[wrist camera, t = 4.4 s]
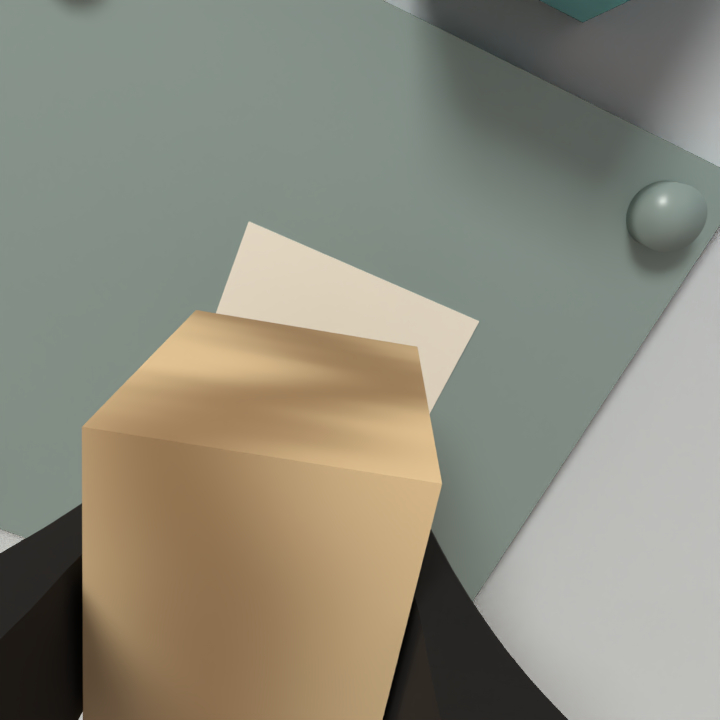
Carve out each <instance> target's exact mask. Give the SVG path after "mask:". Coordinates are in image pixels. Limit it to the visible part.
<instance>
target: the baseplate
mask: <svg viewBox="0 0 720 720" xmlns="http://www.w3.org/2000/svg"><path fill="white" fill-rule="evenodd" d="M719 226H720V167H718V166H716V165H714V164H712V163H710V162H708V161H706V160H704V159H702V158H700V157H698V156H696V155H694V154H692V153H690V152H688V151H686V150H684V149H682V148H680V147H678V146H676V145H674V144H672V143H670V142H668V141H666V140H664V139H662V138H660V137H658V136H656V135H654V134H652V133H649V132H647V131H645V130H643V129H641V128H639V127H637V126H635V125H633V124H631V123H629V122H627V121H625V120H623V119H621V118H619V117H617V116H615V115H613V114H611V113H609V112H607V111H605V110H603V109H601V108H599V107H597V106H595V105H593V104H591V103H589V102H587V101H585V100H583V99H581V98H579V97H577V96H575V95H573V94H571V93H569V92H567V91H565V90H563V89H561V88H559V87H557V86H555V85H553V84H551V83H549V82H547V81H545V80H543V79H541V78H539V77H537V76H534V75H532V74H530V73H528V72H526V71H524V70H522V69H520V68H518V67H516V66H514V65H512V64H510V63H508V62H506V61H504V60H502V59H500V58H498V57H496V56H494V55H492V54H490V53H488V52H486V51H484V50H482V49H480V48H478V47H476V46H474V45H472V44H470V43H468V42H466V41H464V40H462V39H460V38H458V37H456V36H454V35H452V34H450V33H448V32H446V31H444V30H442V29H440V28H438V27H436V26H434V25H432V24H430V23H428V22H426V21H424V20H422V19H420V18H417V17H415V16H413V15H411V14H409V13H407V12H405V11H403V10H401V9H399V8H397V7H395V6H393V5H391V4H389V3H387V2H385V1H383V0H0V529H2V530H5V531H8V532H10V533H13V534H16V535H19V536H22V537H25V538H27V537H29V536H31V535H32V534H34V533H36V532H38V531H39V530H41V529H43V528H44V527H46V526H48V525H49V524H51V523H52V522H54V521H55V520H57V519H58V518H60V517H61V516H63V515H65V514H66V513H68V512H69V511H71V510H72V509H74V508H75V507H77V506H78V505H80V504H81V503H82V426H83V425H84V424H85V423H86V422H87V421H88V420H89V419H90V418H91V417H92V416H93V415H94V414H95V413H96V412H97V411H98V410H99V409H100V408H101V407H102V406H103V405H104V404H105V403H106V402H107V401H108V400H109V399H110V398H111V396H112V395H113V394H114V393H115V392H116V391H117V390H118V389H119V388H120V387H121V386H122V385H123V384H124V383H125V382H126V381H127V380H128V379H129V378H130V377H131V376H132V375H133V374H134V373H135V372H136V371H137V370H138V369H139V368H140V367H141V366H142V365H143V364H144V363H145V362H146V361H147V360H148V359H149V358H150V357H151V356H152V354H153V353H154V352H155V351H156V350H157V349H158V348H159V347H160V346H161V345H162V344H163V343H164V342H165V341H166V340H167V339H168V338H169V337H170V336H171V335H172V334H173V333H174V332H175V331H176V330H177V329H178V328H179V327H180V326H181V325H182V324H183V323H184V322H185V321H186V320H187V319H188V318H189V317H190V316H191V315H192V314H193V313H194V311H195V310H199V311H205V312H211V313H217V314H223V315H229V316H235V317H241V318H247V319H253V320H259V321H265V322H271V323H277V324H284V325H290V326H296V327H302V328H308V329H314V330H320V331H326V332H332V333H338V334H344V335H350V336H356V337H362V338H368V339H374V340H380V341H386V342H392V343H398V344H404V345H410V346H416V347H418V353H419V358H420V364H421V369H422V375H423V380H424V386H425V391H426V397H427V403H428V408H429V414H430V419H431V425H432V430H433V436H434V441H435V447H436V452H437V458H438V464H439V469H440V475H441V480H442V486H441V490H440V494H439V498H438V502H437V506H436V510H435V514H434V518H433V522H432V526H431V529H432V531H433V533H434V535H435V537H436V539H437V541H438V543H439V545H440V547H441V549H442V551H443V553H444V554H445V556H446V558H447V560H448V562H449V563H450V565H451V567H452V569H453V570H454V572H455V574H456V576H457V577H458V579H459V581H460V582H461V584H462V586H463V587H464V589H465V590H466V592H467V594H468V595H469V597H470V599H471V600H472V601H473V600H474V598H475V597H476V595H477V594H478V592H479V591H480V589H481V588H482V586H483V585H484V583H485V582H486V580H487V579H488V577H489V576H490V574H491V572H492V571H493V569H494V568H495V566H496V565H497V563H498V562H499V560H500V559H501V557H502V556H503V554H504V553H505V551H506V550H507V548H508V547H509V545H510V544H511V542H512V541H513V539H514V537H515V536H516V534H517V533H518V531H519V530H520V528H521V527H522V525H523V524H524V522H525V521H526V519H527V518H528V516H529V515H530V513H531V512H532V510H533V509H534V507H535V506H536V504H537V502H538V501H539V499H540V498H541V496H542V495H543V493H544V492H545V490H546V489H547V487H548V486H549V484H550V483H551V481H552V480H553V478H554V477H555V475H556V474H557V472H558V471H559V469H560V468H561V466H562V464H563V463H564V461H565V460H566V458H567V457H568V455H569V454H570V452H571V451H572V449H573V448H574V446H575V445H576V443H577V442H578V440H579V439H580V437H581V436H582V434H583V433H584V431H585V429H586V428H587V426H588V425H589V423H590V422H591V420H592V419H593V417H594V416H595V414H596V413H597V411H598V410H599V408H600V407H601V405H602V404H603V402H604V401H605V399H606V398H607V396H608V394H609V393H610V391H611V390H612V388H613V387H614V385H615V384H616V382H617V381H618V379H619V378H620V376H621V375H622V373H623V372H624V370H625V369H626V367H627V366H628V364H629V363H630V361H631V360H632V358H633V356H634V355H635V353H636V352H637V350H638V349H639V347H640V346H641V344H642V343H643V341H644V340H645V338H646V337H647V335H648V334H649V332H650V331H651V329H652V328H653V326H654V325H655V323H656V321H657V320H658V318H659V317H660V315H661V314H662V312H663V311H664V309H665V308H666V306H667V305H668V303H669V302H670V300H671V299H672V297H673V296H674V294H675V293H676V291H677V290H678V288H679V286H680V285H681V283H682V282H683V280H684V279H685V277H686V276H687V274H688V273H689V271H690V270H691V268H692V267H693V265H694V264H695V262H696V261H697V259H698V258H699V256H700V255H701V253H702V252H703V250H704V248H705V247H706V245H707V244H708V242H709V241H710V239H711V238H712V236H713V235H714V233H715V232H716V230H717V229H718V227H719Z"/></svg>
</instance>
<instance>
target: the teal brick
mask: <svg viewBox="0 0 720 720" xmlns="http://www.w3.org/2000/svg"><path fill="white" fill-rule="evenodd" d="M540 1H542V2H544V3H546V4H548V5H550V6H552V7H554V8H556V9H557V10H559V11H561V12H563V13H565V14H567V15H569V16H571V17H573V18H575V19H577V20H579V21H581V22H585V21H587V20H589V19H591V18H593V17H595V16H598V15H600V14H602V13H604V12H606V11H608V10H610V9H612V8H615V7H617V6H619V5H621V4H623V3H625V2H627V1H630V0H540Z"/></svg>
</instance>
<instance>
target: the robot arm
mask: <svg viewBox="0 0 720 720" xmlns="http://www.w3.org/2000/svg"><path fill="white" fill-rule="evenodd" d="M82 712H83V592H82V503H81V504H80V505H78V506H77V507H75V508H74V509H72V510H71V511H69V512H68V513H66V514H65V515H63V516H61V517H60V518H58V519H57V520H55V521H54V522H52V523H51V524H49V525H48V526H46V527H44V528H43V529H41V530H39V531H38V532H36V533H34V534H32V535H31V536H29V537H27V538H26V539H24V540H22V541H21V542H19V543H17V544H15V545H14V546H12V547H10V548H9V549H7V550H5V551H4V552H2V553H0V720H78V719H79V717H80V715H81V713H82ZM383 720H568V719H567V718H566V717H565V716H564V715H563V714H562V713H561V712H560V711H559V710H558V709H557V708H556V707H555V706H554V705H553V704H552V702H551V701H550V700H549V699H548V698H547V697H546V696H545V695H544V694H543V693H542V692H541V691H540V690H539V688H538V687H537V686H536V685H535V684H534V683H533V682H532V681H531V680H530V678H529V677H528V676H527V675H526V674H525V672H524V671H523V670H522V669H521V668H520V666H519V665H518V664H517V663H516V661H515V660H514V659H513V658H512V657H511V655H510V654H509V653H508V652H507V650H506V649H505V648H504V646H503V645H502V644H501V642H500V641H499V640H498V638H497V637H496V636H495V634H494V633H493V631H492V630H491V628H490V627H489V626H488V624H487V623H486V621H485V620H484V618H483V617H482V615H481V614H480V612H479V611H478V609H477V608H476V606H475V605H474V603H473V602H472V600H471V599H470V597H469V595H468V594H467V592H466V590H465V589H464V587H463V586H462V584H461V582H460V581H459V579H458V577H457V576H456V574H455V572H454V570H453V569H452V567H451V565H450V563H449V562H448V560H447V558H446V556H445V554H444V553H443V551H442V549H441V547H440V545H439V543H438V541H437V539H436V537H435V535H434V533H433V531H432V529H431V530H430V534H429V538H428V542H427V546H426V550H425V554H424V557H423V561H422V565H421V569H420V573H419V577H418V581H417V585H416V589H415V593H414V597H413V601H412V605H411V609H410V613H409V617H408V621H407V625H406V629H405V633H404V637H403V641H402V644H401V648H400V652H399V656H398V660H397V664H396V668H395V672H394V676H393V680H392V684H391V688H390V692H389V696H388V700H387V704H386V708H385V712H384V716H383Z"/></svg>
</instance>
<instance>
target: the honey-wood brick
mask: <svg viewBox="0 0 720 720" xmlns="http://www.w3.org/2000/svg"><path fill="white" fill-rule="evenodd" d="M441 486H442V480H441V475H440V469H439V464H438V458H437V452H436V447H435V441H434V436H433V430H432V425H431V419H430V414H429V408H428V403H427V397H426V391H425V386H424V380H423V375H422V369H421V364H420V358H419V353H418V347H416V346H410V345H404V344H398V343H392V342H386V341H380V340H374V339H368V338H362V337H356V336H350V335H344V334H338V333H332V332H326V331H320V330H314V329H308V328H302V327H296V326H290V325H284V324H277V323H271V322H265V321H259V320H253V319H247V318H241V317H235V316H229V315H223V314H217V313H211V312H205V311H199V310H195V311H194V313H193V314H192V315H191V316H190V317H189V318H188V319H187V320H186V321H185V322H184V323H183V324H182V325H181V326H180V327H179V328H178V329H177V330H176V331H175V332H174V333H173V334H172V335H171V336H170V337H169V338H168V339H167V340H166V341H165V342H164V343H163V344H162V345H161V346H160V347H159V348H158V349H157V350H156V351H155V352H154V353H153V354H152V356H151V357H150V358H149V359H148V360H147V361H146V362H145V363H144V364H143V365H142V366H141V367H140V368H139V369H138V370H137V371H136V372H135V373H134V374H133V375H132V376H131V377H130V378H129V379H128V380H127V381H126V382H125V383H124V384H123V385H122V386H121V387H120V388H119V389H118V390H117V391H116V392H115V393H114V394H113V395H112V396H111V398H110V399H109V400H108V401H107V402H106V403H105V404H104V405H103V406H102V407H101V408H100V409H99V410H98V411H97V412H96V413H95V414H94V415H93V416H92V417H91V418H90V419H89V420H88V421H87V422H86V423H85V424H84V425H83V426H82V592H83V720H383V716H384V712H385V708H386V704H387V700H388V696H389V692H390V688H391V684H392V680H393V676H394V672H395V668H396V664H397V660H398V656H399V652H400V648H401V644H402V641H403V637H404V633H405V629H406V625H407V621H408V617H409V613H410V609H411V605H412V601H413V597H414V593H415V589H416V585H417V581H418V577H419V573H420V569H421V565H422V561H423V557H424V554H425V550H426V546H427V542H428V538H429V534H430V530H431V526H432V522H433V518H434V514H435V510H436V506H437V502H438V498H439V494H440V490H441Z"/></svg>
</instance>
